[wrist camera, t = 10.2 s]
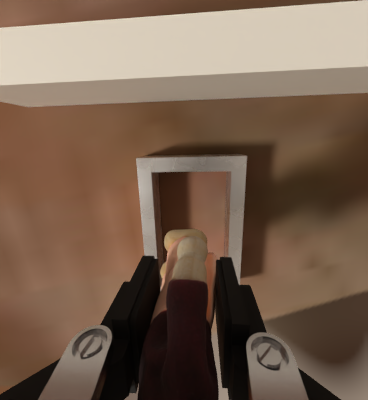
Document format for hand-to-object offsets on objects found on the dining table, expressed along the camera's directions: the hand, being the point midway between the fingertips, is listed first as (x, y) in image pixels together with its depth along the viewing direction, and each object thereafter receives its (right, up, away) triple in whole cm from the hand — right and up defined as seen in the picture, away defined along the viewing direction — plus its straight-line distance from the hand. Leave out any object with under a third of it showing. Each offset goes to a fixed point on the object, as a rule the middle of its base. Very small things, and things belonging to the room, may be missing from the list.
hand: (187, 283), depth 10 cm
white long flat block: (0, +13, +5) cm, 14 cm away
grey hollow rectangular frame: (+1, +2, +8) cm, 8 cm away
